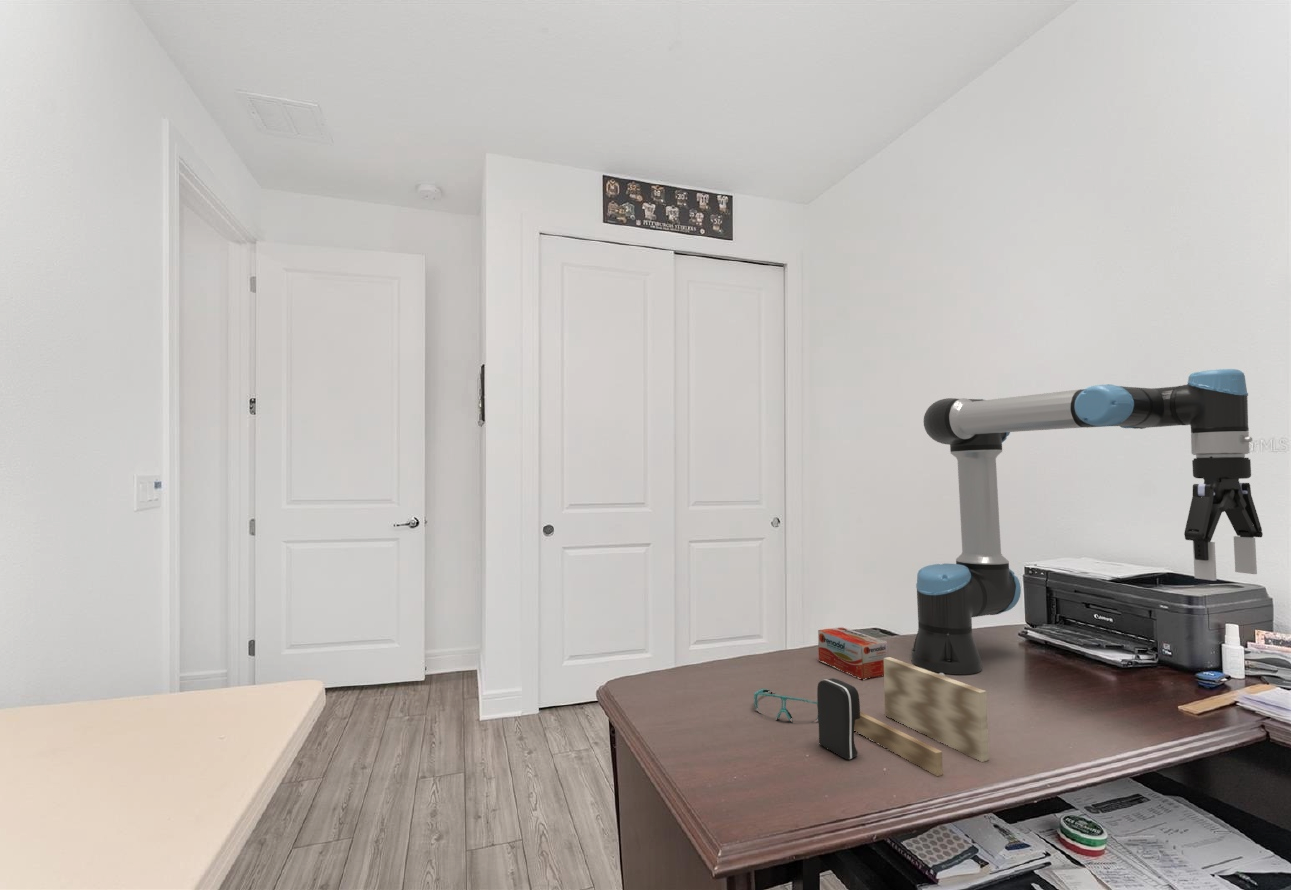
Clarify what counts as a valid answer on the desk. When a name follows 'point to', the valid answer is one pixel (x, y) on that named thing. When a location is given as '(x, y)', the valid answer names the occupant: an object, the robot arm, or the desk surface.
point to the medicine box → (852, 652)
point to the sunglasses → (781, 701)
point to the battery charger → (837, 716)
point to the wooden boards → (929, 716)
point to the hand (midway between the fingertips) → (1226, 576)
